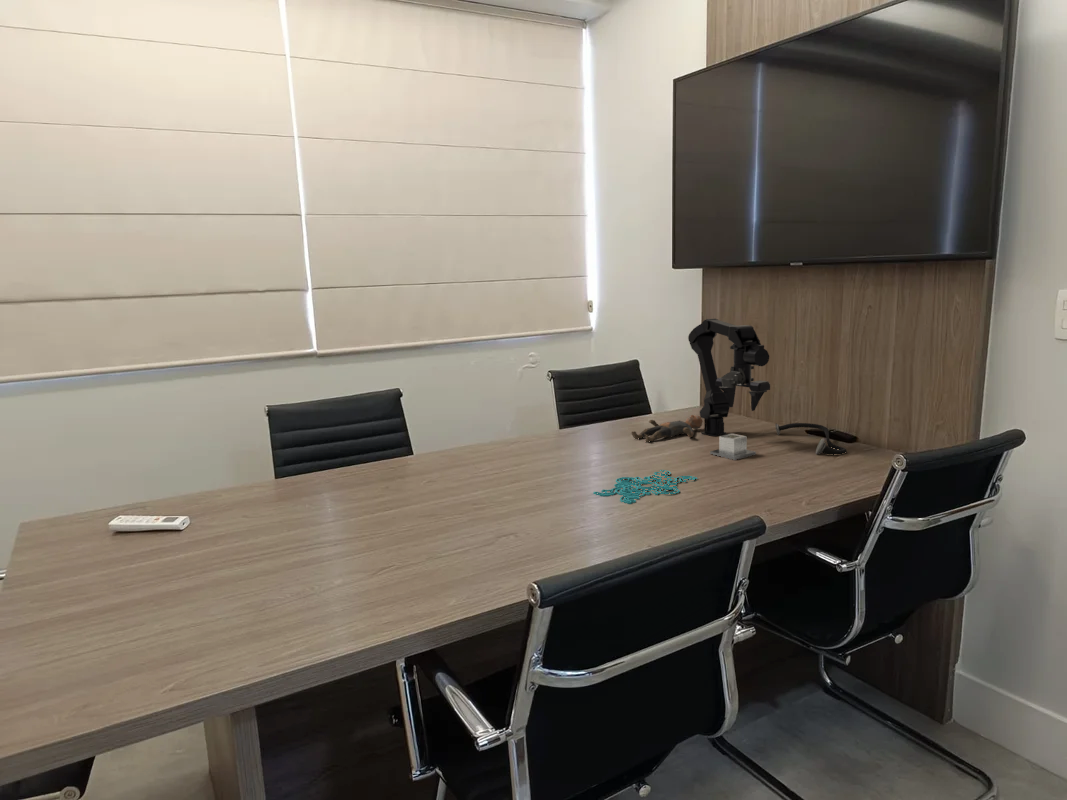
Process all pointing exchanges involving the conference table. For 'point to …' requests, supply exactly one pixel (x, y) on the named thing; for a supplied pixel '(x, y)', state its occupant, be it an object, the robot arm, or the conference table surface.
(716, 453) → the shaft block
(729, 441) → the grey hollow square block
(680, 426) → the figurine
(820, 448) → the hose
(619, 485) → the decorative art
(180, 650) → the conference table surface
